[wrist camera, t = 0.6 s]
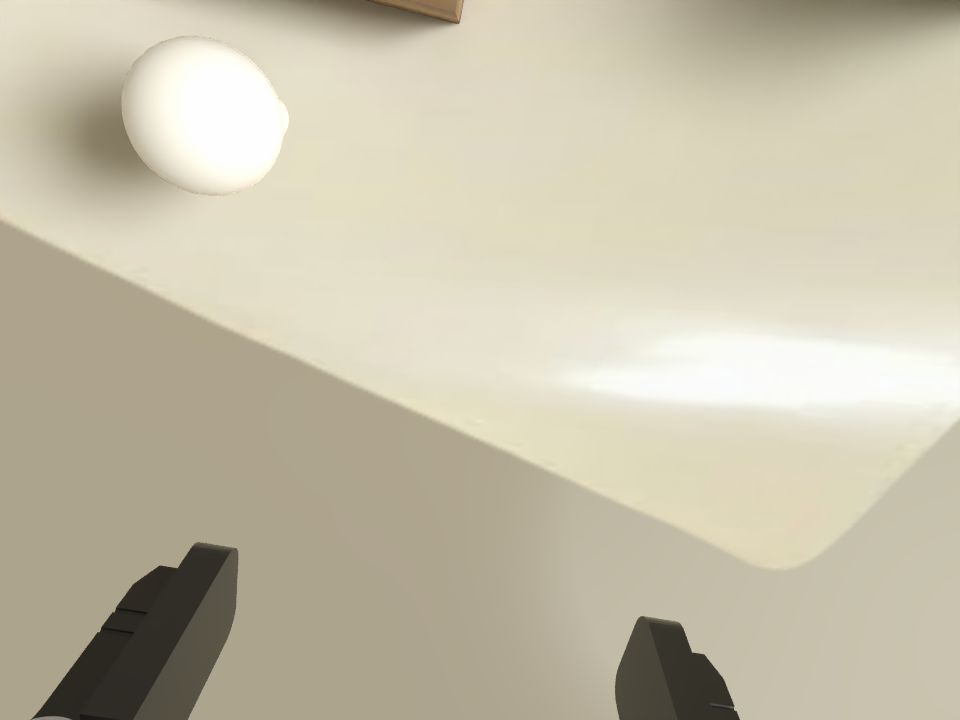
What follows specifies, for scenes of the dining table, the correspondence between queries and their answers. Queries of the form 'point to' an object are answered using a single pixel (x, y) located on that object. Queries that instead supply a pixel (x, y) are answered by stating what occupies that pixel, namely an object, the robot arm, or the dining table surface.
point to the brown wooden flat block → (429, 7)
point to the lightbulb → (203, 115)
